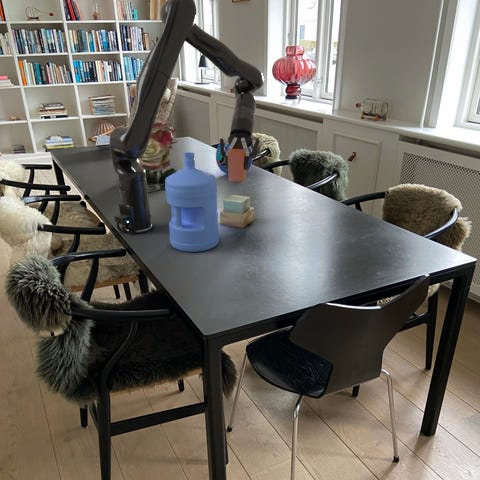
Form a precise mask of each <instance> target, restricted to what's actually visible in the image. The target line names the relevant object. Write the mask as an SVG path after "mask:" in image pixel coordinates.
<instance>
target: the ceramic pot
mask: <svg viewBox="0 0 480 480" xmlns="http://www.w3.org/2000/svg"><path fill="white" fill-rule="evenodd" d="M229 146H230V145H229V143H227V146H226V147H225V152H226V153H227V151H228V148H229ZM252 150H253V148H252V146H250V147H249V148H248V152H249V153H251V152H252ZM253 160H254V159H253V158H252V159H250V160H249V167H248V168H247V169H246V172H247V171H249V169H250V168H251V165H252V163H253ZM215 161H216V165H217V167H218V168H219V170H220V171H221V172H222V173H225V174H226V175H228V169H227V167H226V166H225V158H223V157H222V155H221V149H220V143H219V144H218V145H217V148H216V151H215Z"/></svg>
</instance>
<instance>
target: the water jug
mask: <svg viewBox="0 0 480 480" xmlns="http://www.w3.org/2000/svg"><path fill="white" fill-rule="evenodd" d="M183 156H184V158H183V162H184V167H183V168H182V169H179V170H177V172H176V173H174V174H172V175H170V176H168V177H167V178H166V180H165V189H164V190H165V194H166V202H167V204H169V205H170V213H171V220H170V221H169V223H168V228H169V244H170V246H172V248H174V249H175V250H178V251H180V252H187V253H197V252H199V253H200V252H204V251H209V250H211V249H213V248H215V247H216V246H217V245H218V244H219V241H220V234H219V209H218V183H217V177H216V176H215V175H214V174H212V173H210V172H208V171H205V170H204V169H200V168H198V167H196V158H195V152H191V151H190V152H189V151H188V152H184V153H183Z"/></svg>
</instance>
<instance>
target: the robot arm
mask: <svg viewBox="0 0 480 480" xmlns="http://www.w3.org/2000/svg"><path fill="white" fill-rule="evenodd" d="M197 13H198V12H197V4H196V2H195V0H166V1H164V2H163V3H162V4H161V7H160V10H159V17H160V20H161V23H162V24H163V28H162V29H161V33H160V35H159V37H158V39H157V40H156V42H155V44H154V45H153V46H152V48H151V49H150V51H149V53H148V54H147V56H146V58H145V59H144V62H143V64H142V67H141V69H140V72H139V74H138V77H137V78H136V79H137V80H136V83H135V99H136V101H135V103H136V105H135V110H134V114H133V117H132V119H131V122H130V123H129V126H124V125H123V126H122V125H120V126H116V127H115V128H113V130H112V131H111V132H110V135H109V150H110V157H111V162H112V166H113V170H114V172H115V174H116V178H117V183H118V191H119V197H120V202H119V203H118V208H119V213H118V214H115V215H114V222H115V223H116V228H117V229H118V231H119V232H122V231H124V232H126V233H129V234H132V235H134V234H142V233H146V232H149V231H150V230H152V229H153V224H152V214H151V208H150V200H149V199H150V198H149V192H148V190H147V180H146V172H145V169H144V168H143V167H142V166H141V165H140V163H139V162H138V159H139V158H141V157H142V156H143V155H144V153H145V151H146V149H147V146H148V143H149V140H150V136H151V132H152V128H153V125H154V122H155V119H156V116H158V113H159V111H160V107H161V104H162V102H163V99H164V98H165V95H166V92H167V89H168V87H169V85H170V82H171V79H172V76H173V73H174V71H175V68H176V66H177V63H178V60H179V57H180V53H181V52H182V48H183V47H184V44H185V42H186V43H187V44H189V45H190V46H191V47H193V48H194V49H195V50H196V51H197V52H200V54H202V55H203V56H204V57H205V58H206V59H207V60H208V61H210V62H211V64H213V65H214V66H215V67H216V68H217V69H218V70H219V71H220V72H221V73H223V75H225V76H226V77H227V78H233V77H236V79H235V81H234V84H233V90H234V98H235V104H234V111H233V114H232V119H231V125H230V133H229V136H228V138H226V139H224V138H220V139H219V144H220V149H221V155H222V157H223V158H225V166H226V167H227V169H228V151H229V150H230V149H244V150H246V151H245V155H246V157H245V159H244V166H243V167H244V170H246V169H247V168H248V167H249V160H250V159H252V158H253V160H255V159H256V158H257V155H258V152H259V149H260V147H261V142H260V141H261V140H260V139H253V134H254V127H255V117H256V115H255V113H256V106H257V99H256V97H255V95H254V94H253V93H255V92H256V91H258V90H260V89H261V88H262V87H263V85H264V82H265V81H264V80H265V79H264V76H263V73H262V72H261V71H260V69H259V68H258V67H256V66H254V65H253V64H252V63H250V62H248V61H246V60H244V59H242V58H241V57H239V56H238V55H237V54H236V53H235V52H234V50H232V49H231V48H230V47H229V46H228V45H227V44H226V43H224V42H223V41H221V40H220V39H218V38H216V37H214V36H213V35H211V34H210V33H208V32H206V31H205V30H204V29H203V28H201V27H200V26H199V25H198V24H197V23H196V20H197ZM227 143H229V145H230V146H229V148H228V151H227V153H226V152H225V147H226V146H227ZM252 146H253V147H252ZM249 147H252V152H251V153H249V152H248V148H249ZM120 225H121V227H120Z"/></svg>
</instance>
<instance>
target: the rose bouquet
mask: <svg viewBox="0 0 480 480" xmlns="http://www.w3.org/2000/svg"><path fill="white" fill-rule="evenodd" d="M168 121H169V117H166V119H165V118H164V117H163V116H160V115H157V116H156V119H155V122H154V125H153V128H152V132H151V136H150V140H149V143H148V146H147V149H146V151H145V153H144V155H143V156H142V157H141V158H139V159H138V162H139V163H140V165H141V166H142V167H143V168H144V169H145V172H146V180H147V190H148V193H151V192H156V191H160V190H165V180H166V178H167V177H168V176H170V175H172V174H174V173H176V172H178V169H175V167H176V165H174V166H172V167H171V168H169V169H166V168H168V167H170V166H171V160H172V156H173V152H174V147H173V146H172V145H174V144H175V145H176V144H178V142H179V140H178V141H177V140H175V136H174V135H173V134H174V133H175V132H177V131H178V130H177V128H176V127H173V126H171V125H167V122H168ZM174 140H175V141H174ZM164 169H166V170H165V171H163V170H164Z"/></svg>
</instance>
